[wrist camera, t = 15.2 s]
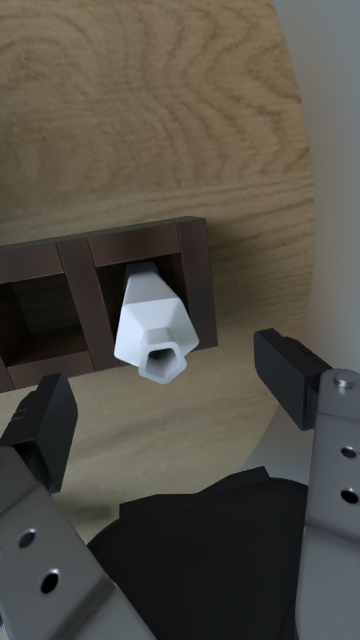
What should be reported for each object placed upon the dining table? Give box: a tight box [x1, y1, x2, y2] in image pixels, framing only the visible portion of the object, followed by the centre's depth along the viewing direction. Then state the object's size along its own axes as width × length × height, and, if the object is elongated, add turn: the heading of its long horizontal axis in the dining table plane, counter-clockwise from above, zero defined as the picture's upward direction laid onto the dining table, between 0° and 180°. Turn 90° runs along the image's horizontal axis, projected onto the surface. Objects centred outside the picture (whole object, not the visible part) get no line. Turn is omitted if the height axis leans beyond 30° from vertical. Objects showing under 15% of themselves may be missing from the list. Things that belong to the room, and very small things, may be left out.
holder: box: [0, 216, 218, 393], centre depth 23 cm, size 18×10×6 cm, turn 98°
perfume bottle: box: [114, 262, 199, 384], centre depth 19 cm, size 5×4×15 cm
